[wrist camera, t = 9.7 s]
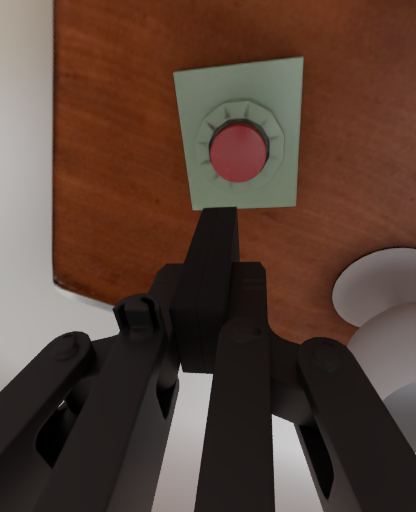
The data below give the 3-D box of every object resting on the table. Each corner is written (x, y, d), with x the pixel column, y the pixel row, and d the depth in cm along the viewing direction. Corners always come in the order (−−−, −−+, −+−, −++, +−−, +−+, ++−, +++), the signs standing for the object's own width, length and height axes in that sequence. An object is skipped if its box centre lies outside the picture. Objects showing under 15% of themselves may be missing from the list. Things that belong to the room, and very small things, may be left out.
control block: (178, 70, 26) (167, 73, 23) (300, 55, 24) (307, 57, 21) (196, 201, 33) (189, 219, 29) (293, 197, 31) (297, 215, 28)
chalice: (300, 307, 39) (320, 428, 26) (377, 217, 31) (456, 328, 19) (395, 347, 40) (455, 478, 28) (490, 270, 33) (632, 406, 20)
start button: (210, 123, 25) (207, 128, 23) (265, 119, 24) (266, 123, 23) (215, 177, 27) (212, 184, 26) (265, 174, 26) (266, 181, 25)
